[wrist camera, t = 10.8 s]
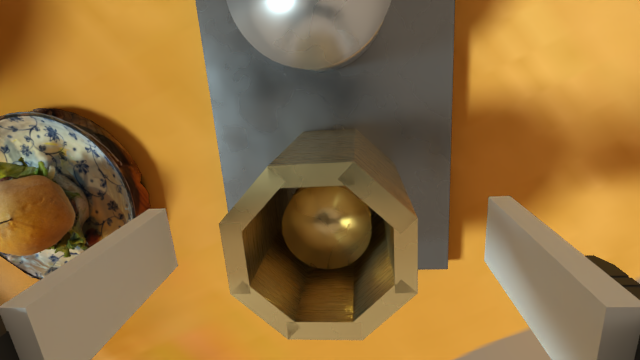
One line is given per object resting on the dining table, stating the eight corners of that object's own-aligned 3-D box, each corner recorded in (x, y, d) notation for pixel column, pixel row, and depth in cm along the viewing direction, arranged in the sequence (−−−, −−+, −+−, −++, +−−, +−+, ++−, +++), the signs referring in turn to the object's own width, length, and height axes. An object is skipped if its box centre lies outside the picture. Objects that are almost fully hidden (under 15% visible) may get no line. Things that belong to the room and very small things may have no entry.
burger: (-37, 114, 23) (-217, 130, 16) (130, 100, 21) (16, 111, 14) (20, 277, 26) (-108, 352, 19) (169, 274, 25) (92, 354, 17)
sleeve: (267, 133, 20) (210, 169, 12) (393, 126, 19) (417, 158, 11) (280, 246, 22) (237, 338, 14) (395, 244, 21) (417, 341, 13)
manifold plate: (190, -85, 18) (111, -162, 12) (452, -122, 16) (503, -230, 11) (242, 263, 23) (204, 323, 18) (443, 260, 22) (474, 325, 16)
